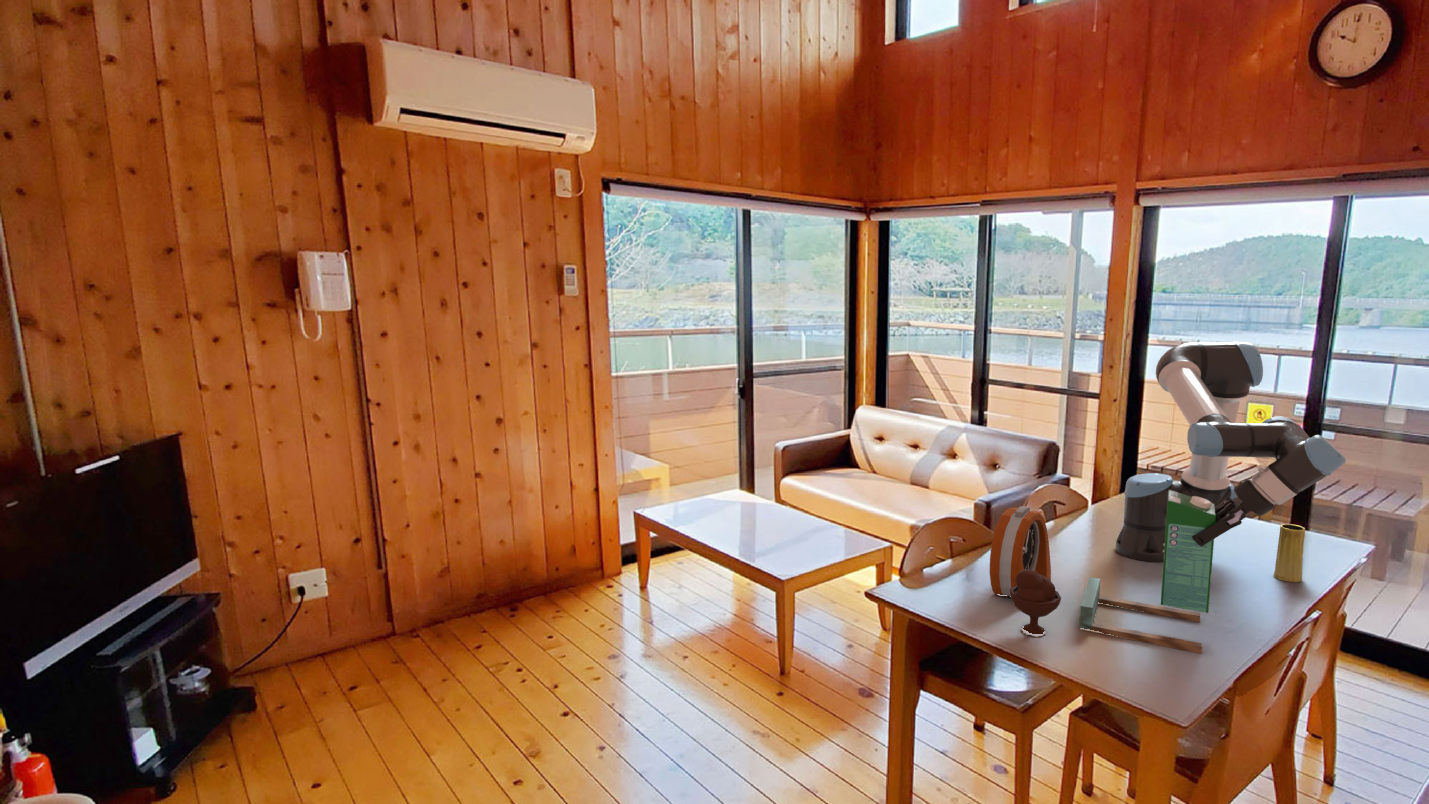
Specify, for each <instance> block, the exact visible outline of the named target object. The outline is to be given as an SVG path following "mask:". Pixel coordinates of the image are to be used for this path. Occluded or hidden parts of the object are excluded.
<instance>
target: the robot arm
mask: <svg viewBox="0 0 1429 804" xmlns="http://www.w3.org/2000/svg"><path fill="white" fill-rule="evenodd" d="M1263 376H1264V366H1263V359H1262V357H1261V353H1260V351H1259V349H1258V348H1257V346H1256V345H1254V344H1253V343H1251V342H1247V341H1246V342H1244V341H1242V342H1241V341H1239V342H1238V341H1235V340H1234V341H1218V342H1217V341H1215V342H1214V341H1212V342H1209V341H1208V342H1206V341H1205V342H1201V341H1200V342H1193V341H1189V342H1185V343H1180V344H1178V345H1175V346H1173V347H1171V348H1170V349H1168V350H1166V352H1165V353H1163V355H1162V356H1161V357H1160V358H1159V360H1158V362H1157V364H1156V366H1155V377H1156V380H1157V383H1158V384H1159V386H1160V388H1162V390H1163V391H1165V392H1167V393H1169V394H1170V396H1171V397H1172V399H1173V400H1174V402H1175V404H1176V405H1177V406H1178V409H1179V410H1180V412H1181V413H1182V415H1183V417H1184V419H1185V420H1186V422H1187V423H1188V425H1189V427H1188V430H1187V436H1186V437H1187V439H1186V440H1187V444H1188V449H1189V451H1190V453H1191V456H1190V463H1189V467H1188V469H1186V470H1184V471H1183V472H1181V478H1180V479H1179V480H1174V479H1173V477H1172V476H1171V475H1169V474H1165V473H1156V472H1154V473H1151V472H1148V473H1141V474H1135V475H1133V476H1130V477H1129V478H1128V479H1127V481H1126V484H1125V490H1124V509H1123V512H1124V513H1123V525H1122V527H1121V530H1120V532H1119V534H1118V537H1117V538H1116V540H1115V550H1116V552H1117V553H1118V554H1120V555H1122V556H1124V557H1127V558H1130V559H1133V560H1138V561H1143V562H1144V561H1145V562H1155V563H1156V562H1164V548H1165V533H1166V518H1167V503H1168V490H1171V491H1175V492H1178V493H1181V494H1184V495H1187V496H1190V497H1193V496H1197V497H1201V498H1204V499H1206V500H1209V501H1210V502H1211V503H1213V504H1214V505H1215V513H1216V521H1215V523H1213V524H1212V525H1210V526H1208V527H1207V528H1205V529H1204V530H1202V531H1201V532H1199V533H1197V534H1196V535H1193V537H1192V538H1193V540H1194V541H1195V542H1196V543H1197V544H1199V545H1200V546H1204V545H1205V544H1206V543H1208V542H1210V541H1211V540H1213V539H1214V540H1215V539H1217V538H1218V537H1219V536H1221V535H1223V534H1224V533H1226V532H1228V531H1230V530H1231V529H1233V528H1236V527H1238V526H1240V525H1241V524H1242V523H1243V521H1242V520H1245V518H1246V516H1247V515H1248V514H1249V513H1250V512H1253V513H1254V514H1255V515H1257V516H1261V517H1262V516H1265V514H1267V513H1270V512H1271V511H1272V510H1274V509H1275V508H1276V505H1282V504H1284V503H1286V502H1287V501H1289V500H1291V499H1292V498H1294V497H1295V496H1297V495H1298V494H1299V493H1300V492H1301V493H1302V492H1303V491H1305V490H1306V489H1308V488H1310V487H1311V486H1312V485H1314V484H1316V483H1317V482H1319V481H1321V480H1323V479H1324V478H1326V477H1327V476H1331V475H1332V474H1333V473H1334V472H1335V471H1336V470H1338V469H1340V468H1341V467H1342V466H1343V465H1345V464H1346V462H1347V460H1346V457H1345V456H1344V454H1343V453H1341V451H1339V450H1338V449H1337V448H1336V447H1335V446H1334V445H1333V444H1332V443H1331V442H1330V441H1329V440H1327V439H1326V438H1325V437H1324V436H1323V435H1320V434H1316V435H1313V436H1312V437H1310V436H1309V435H1308V433H1306V431H1305V430H1304V429H1303V427H1302V426H1301V425H1299V424H1298V423H1296V422H1295V421H1294V420H1292V418H1289V417H1286V416H1283V415H1282V416H1280V415H1277V416H1273V417H1270V418H1267V419H1266V418H1265V420H1264V421H1261V423H1253V422H1252V423H1247V422H1245V423H1244V422H1243V423H1241V422H1239V423H1237V417H1238V413H1239V407H1240V403H1241V400H1243V399H1245V398H1246V397H1248V396H1249V392H1250V388H1251V387H1252V388H1255V387H1257V386H1259V385H1260V384H1261V383H1262V380H1263ZM1230 457H1231V458H1236V457H1237V458H1263V459H1264V458H1272V459H1275V460H1274V461H1273V462H1272V463H1270V464H1268V465H1267V466H1266V467H1264V468H1263V467H1259V468H1258V469H1257V470H1258V471H1257V473H1255V474H1254V475H1252V476H1251V479H1245V480H1244V481H1242V482H1240V483H1239V484H1238V485H1236V486H1234V484H1233V483H1231V480H1230V478H1229V477H1228V476H1227V475H1226V473H1227V469H1228V468H1227V467H1228V462H1229V458H1230Z"/></svg>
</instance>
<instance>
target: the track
mask: <svg viewBox="0 0 1429 804" xmlns="http://www.w3.org/2000/svg"><path fill="white" fill-rule="evenodd" d="M1100 590H1101V578H1097V577H1092V576H1089V577H1088V580H1087V583H1086V587H1085V590H1084V593H1083V596H1082V600H1081V603H1080V612H1079V613H1080V614H1079V627H1080V628H1084V629H1090V630H1094V631H1099V632H1102V633H1104V634H1111V635H1114V636H1118V637H1117V638H1119V637H1121V639H1124V638H1125V640H1130V641H1134V642H1138V643H1139V642H1141V643H1146V644H1150V645H1155V646H1156V645H1157V646H1159V647H1160V646H1161V647H1166V648H1169V649H1170V648H1172V649H1176V650H1181V651H1186V652H1191V653H1196V654H1203V653H1202V652H1203V643H1201V642H1197V641H1193V640H1192V641H1191V640H1185V639H1181V638H1176V637H1170V636H1166V635H1165V636H1164V635H1159V634H1155V633H1154V634H1153V633H1149V632H1145V631H1139V630H1132V629H1129V628H1122V627H1118V626H1112V625H1107V624H1102V623H1096V622H1095V620H1094V618H1095V619H1096V616H1095V614H1096V615H1097V612H1096V610H1097V611H1098V608H1097V606H1098V607H1099V604H1098V602H1099V603H1103V604H1109V605H1113V606H1119V607H1123V608H1127V609H1126V610H1128V609H1134V610H1137V611H1136V612H1140V611H1144V612H1143V613H1145V612H1147V614H1150V615H1151V614H1152V615H1157V614H1158V615H1157V616H1164V617H1168V616H1169V618H1175V619H1181V620H1186V621H1192V622H1197V623H1201V612H1199V611H1193V610H1187V609H1181V608H1176V607H1170V606H1164V605H1158V604H1157V605H1156V604H1150V603H1144V602H1139V601H1133V600H1128V599H1127V600H1126V599H1121V598H1116V597H1110V596H1109V597H1108V596H1104V595H1100V592H1101V591H1100ZM1123 608H1122V609H1123ZM1134 610H1133V611H1134ZM1093 622H1094V623H1093ZM1104 634H1103V635H1104ZM1114 636H1113V637H1114Z"/></svg>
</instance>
